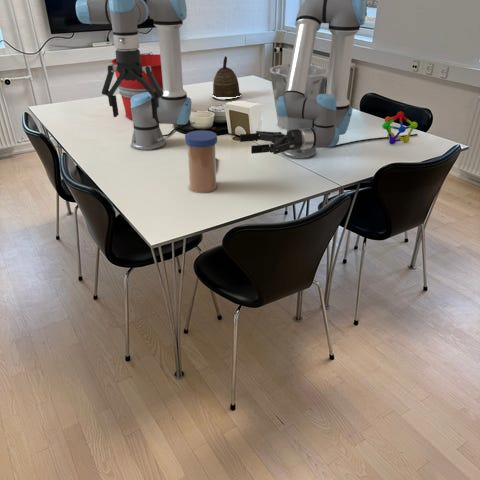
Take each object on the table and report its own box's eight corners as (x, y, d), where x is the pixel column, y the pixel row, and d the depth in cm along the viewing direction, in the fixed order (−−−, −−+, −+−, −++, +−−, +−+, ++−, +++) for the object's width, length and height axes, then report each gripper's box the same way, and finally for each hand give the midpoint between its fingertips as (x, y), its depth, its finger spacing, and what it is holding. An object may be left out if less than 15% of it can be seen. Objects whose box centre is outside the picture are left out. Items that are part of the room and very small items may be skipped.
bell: (227, 105, 294) (202, 96, 282) (238, 66, 289) (213, 55, 277) (243, 108, 280) (217, 98, 268) (255, 66, 275) (229, 55, 263)
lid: (181, 138, 162) (181, 132, 160) (211, 135, 165) (211, 128, 164) (190, 149, 153) (189, 142, 151) (221, 145, 156) (221, 138, 155)
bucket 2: (296, 138, 215) (301, 78, 201) (255, 124, 234) (256, 68, 219) (335, 125, 232) (342, 70, 217) (294, 113, 251) (297, 61, 236)
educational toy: (377, 146, 209) (379, 114, 202) (384, 138, 219) (386, 107, 211) (411, 149, 202) (415, 116, 195) (417, 141, 212) (420, 109, 204)
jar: (186, 183, 171) (183, 133, 160) (211, 180, 174) (210, 130, 163) (194, 194, 163) (191, 142, 152) (219, 190, 166) (218, 139, 155)
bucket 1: (125, 105, 263) (118, 51, 247) (184, 106, 262) (180, 52, 246) (109, 123, 234) (99, 63, 218) (175, 124, 233) (170, 64, 217)
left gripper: (84, 50, 136) (95, 118, 148) (163, 52, 134) (168, 121, 145) (93, 46, 143) (104, 112, 154) (169, 48, 140) (174, 114, 152)
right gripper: (312, 159, 158) (256, 165, 153) (286, 139, 179) (235, 143, 173) (314, 139, 155) (257, 144, 149) (287, 120, 175) (236, 124, 170)
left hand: (135, 116), depth 150 cm, fingers open, 13 cm apart
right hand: (245, 143), depth 161 cm, fingers open, 13 cm apart
